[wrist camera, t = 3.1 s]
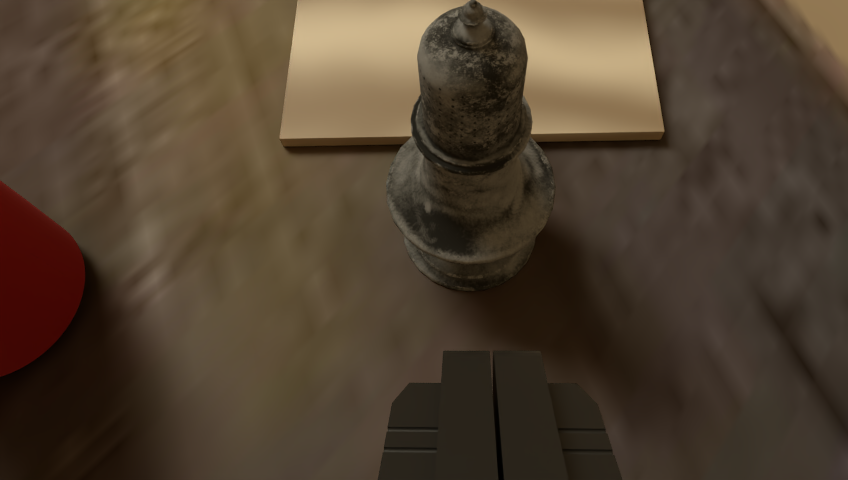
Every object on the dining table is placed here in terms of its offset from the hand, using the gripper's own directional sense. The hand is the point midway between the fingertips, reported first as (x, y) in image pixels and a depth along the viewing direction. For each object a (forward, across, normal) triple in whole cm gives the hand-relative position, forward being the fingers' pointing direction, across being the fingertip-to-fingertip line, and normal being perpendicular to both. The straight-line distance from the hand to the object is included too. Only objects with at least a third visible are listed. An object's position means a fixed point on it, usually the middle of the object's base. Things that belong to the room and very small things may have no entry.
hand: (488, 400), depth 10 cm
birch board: (+24, 0, -6) cm, 24 cm away
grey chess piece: (+15, 0, +3) cm, 16 cm away
